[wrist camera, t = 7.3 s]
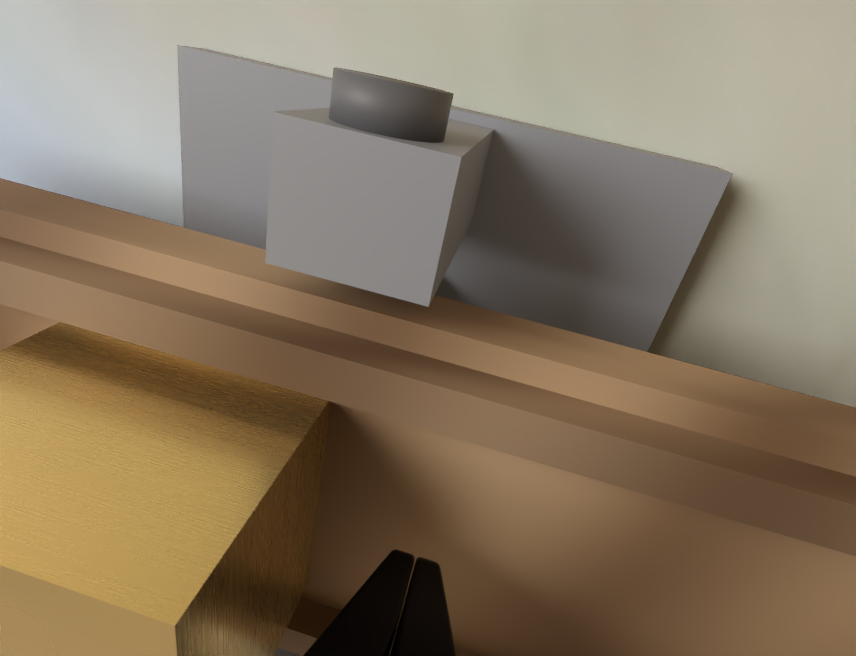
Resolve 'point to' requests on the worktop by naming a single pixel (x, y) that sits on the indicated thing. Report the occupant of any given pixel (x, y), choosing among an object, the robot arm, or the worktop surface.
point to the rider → (150, 501)
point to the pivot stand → (437, 197)
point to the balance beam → (489, 448)
